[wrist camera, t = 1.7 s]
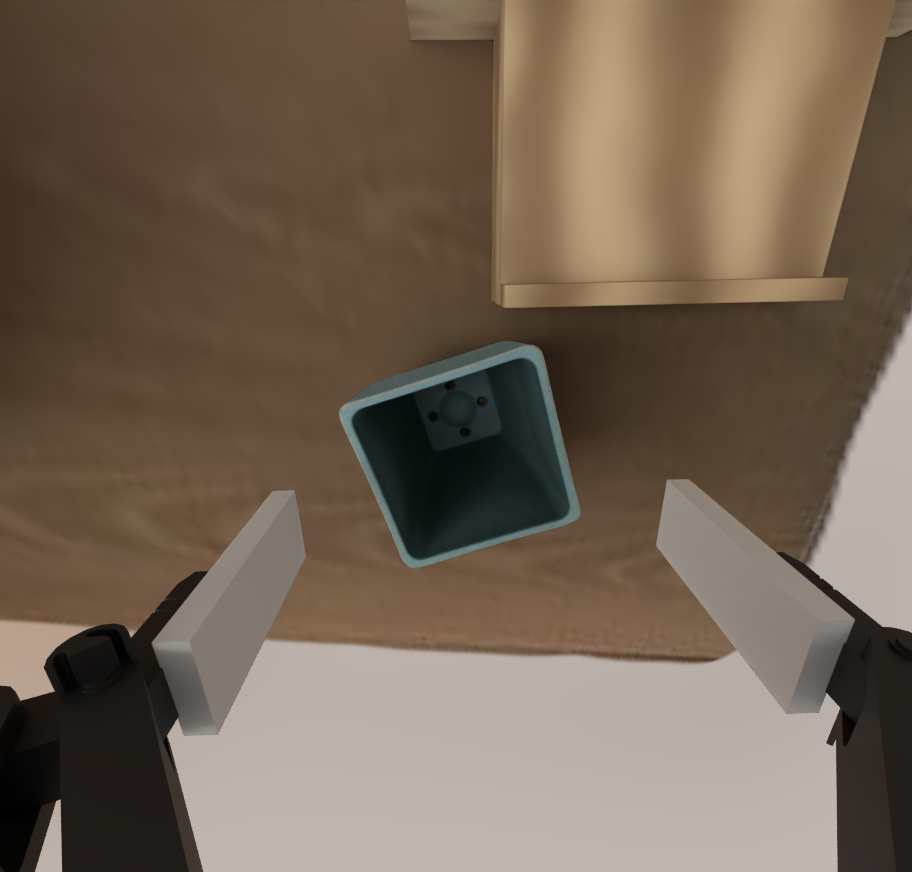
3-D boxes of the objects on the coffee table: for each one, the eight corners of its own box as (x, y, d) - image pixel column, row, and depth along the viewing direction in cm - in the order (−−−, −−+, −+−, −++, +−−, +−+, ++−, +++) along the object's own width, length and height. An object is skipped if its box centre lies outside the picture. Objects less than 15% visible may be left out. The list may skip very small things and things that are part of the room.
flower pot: (542, 448, 29) (584, 522, 20) (416, 486, 29) (406, 573, 21) (507, 318, 25) (540, 341, 17) (367, 364, 26) (333, 408, 18)
